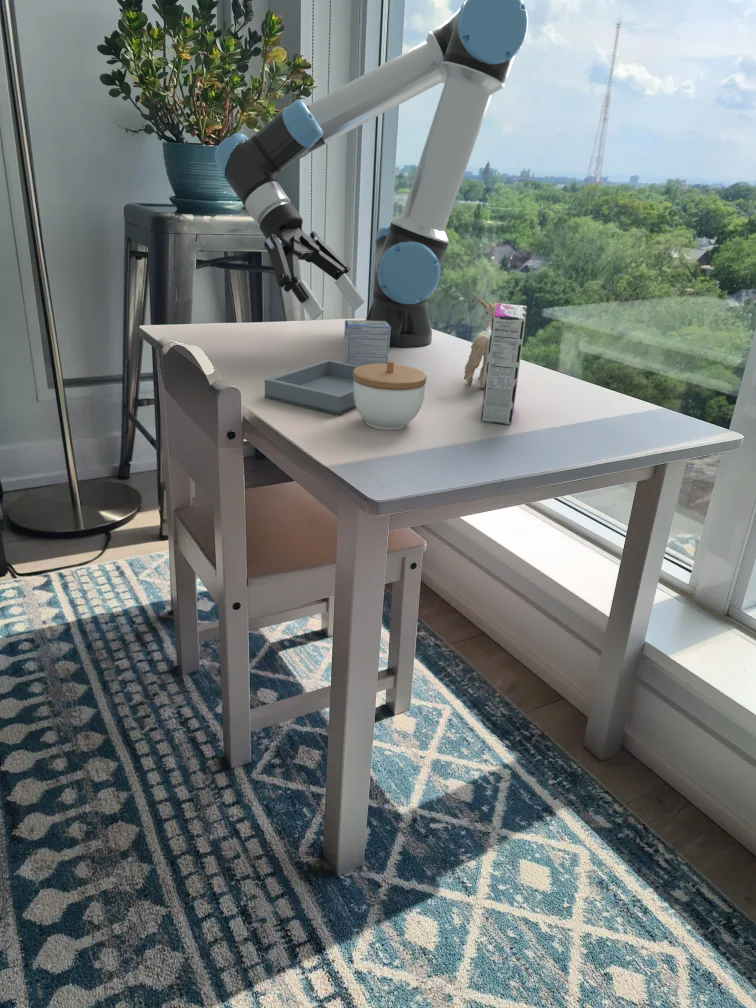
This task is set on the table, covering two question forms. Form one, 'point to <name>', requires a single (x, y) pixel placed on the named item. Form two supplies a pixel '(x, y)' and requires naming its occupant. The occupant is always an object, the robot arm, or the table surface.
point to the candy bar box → (503, 363)
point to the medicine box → (366, 342)
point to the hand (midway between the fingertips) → (339, 310)
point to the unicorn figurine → (480, 347)
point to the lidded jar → (388, 394)
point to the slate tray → (315, 387)
